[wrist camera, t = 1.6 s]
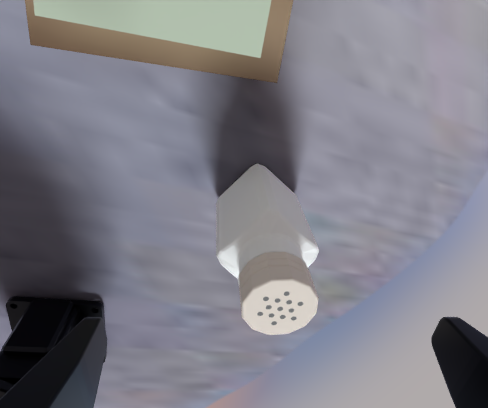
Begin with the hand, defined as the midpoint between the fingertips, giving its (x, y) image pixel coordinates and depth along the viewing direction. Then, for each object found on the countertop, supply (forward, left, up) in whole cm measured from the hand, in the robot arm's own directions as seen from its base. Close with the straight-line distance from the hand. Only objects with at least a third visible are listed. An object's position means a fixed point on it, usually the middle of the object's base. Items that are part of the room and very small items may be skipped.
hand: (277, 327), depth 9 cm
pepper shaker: (-3, -1, -13) cm, 14 cm away
